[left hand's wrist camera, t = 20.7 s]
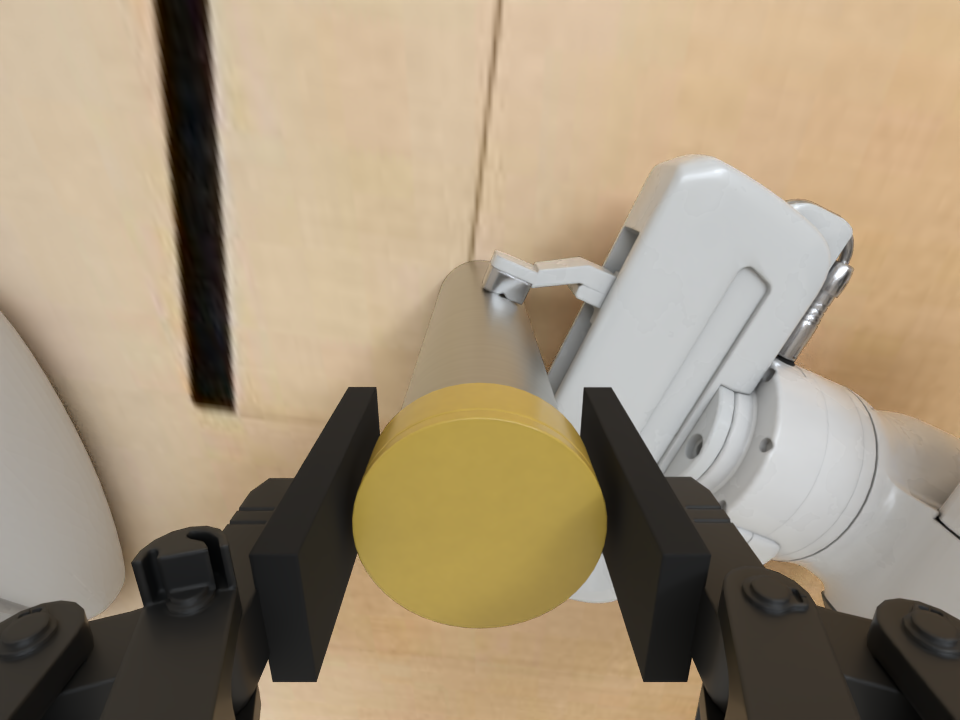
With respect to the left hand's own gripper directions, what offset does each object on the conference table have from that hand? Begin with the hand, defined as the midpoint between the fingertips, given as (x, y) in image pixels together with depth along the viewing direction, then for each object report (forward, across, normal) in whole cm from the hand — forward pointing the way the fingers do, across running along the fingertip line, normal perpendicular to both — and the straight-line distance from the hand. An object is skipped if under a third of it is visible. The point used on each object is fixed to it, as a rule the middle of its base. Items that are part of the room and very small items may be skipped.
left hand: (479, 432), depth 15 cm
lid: (-4, 0, 0) cm, 4 cm away
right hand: (+8, -1, 0) cm, 8 cm away
